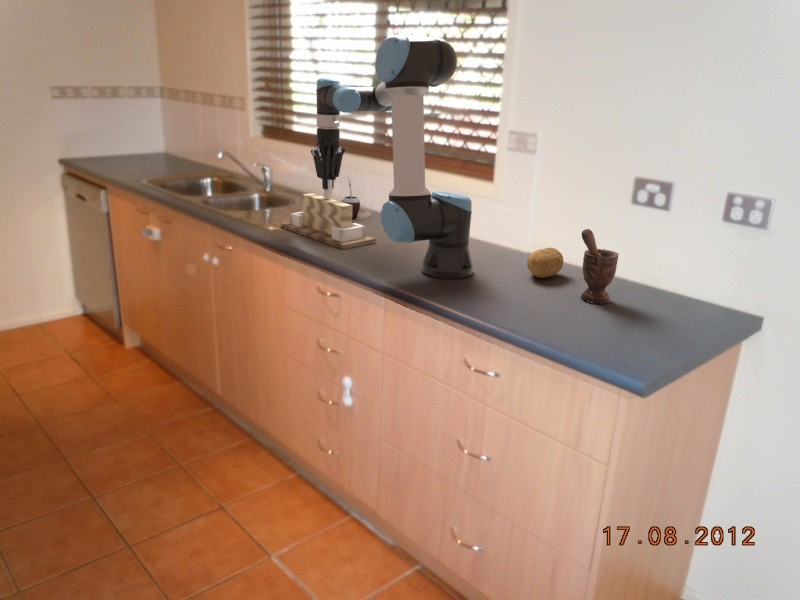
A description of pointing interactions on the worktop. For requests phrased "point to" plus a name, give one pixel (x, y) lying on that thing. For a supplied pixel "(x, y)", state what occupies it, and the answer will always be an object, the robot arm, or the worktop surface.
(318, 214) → the slat
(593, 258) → the mortar and pestle
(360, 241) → the walnut board
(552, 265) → the potato
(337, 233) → the end caps
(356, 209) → the mate gourd
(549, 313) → the worktop surface
